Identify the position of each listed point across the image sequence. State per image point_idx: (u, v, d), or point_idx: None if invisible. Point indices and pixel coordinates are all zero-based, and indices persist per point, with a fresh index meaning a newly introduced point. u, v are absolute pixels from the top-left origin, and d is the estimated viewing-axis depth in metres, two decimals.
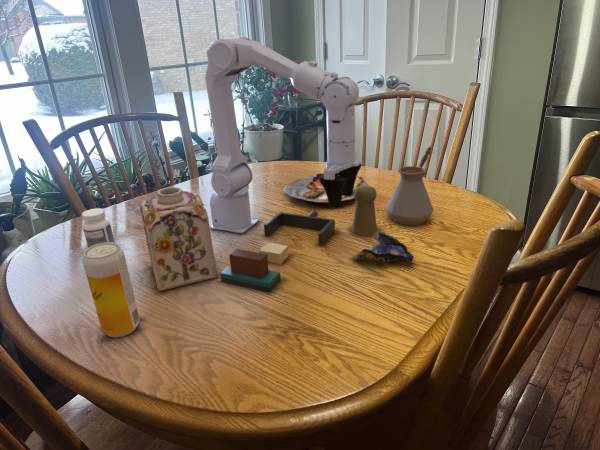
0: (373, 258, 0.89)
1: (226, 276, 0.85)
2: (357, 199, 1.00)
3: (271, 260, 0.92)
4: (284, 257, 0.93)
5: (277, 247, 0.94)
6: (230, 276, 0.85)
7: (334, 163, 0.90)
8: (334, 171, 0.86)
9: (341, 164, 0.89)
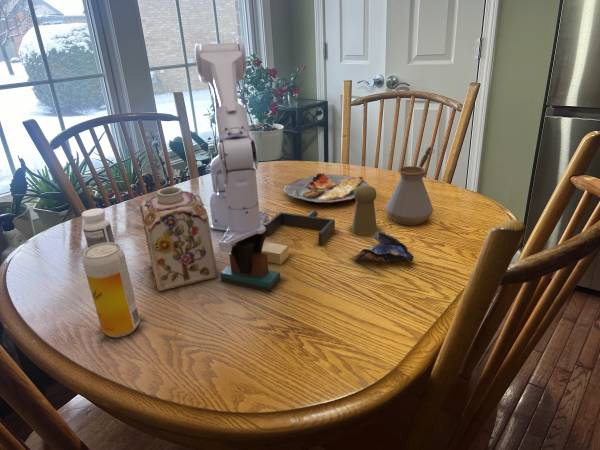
0: (373, 258, 0.89)
1: (226, 276, 0.85)
2: (357, 199, 1.00)
3: (271, 260, 0.92)
4: (284, 257, 0.93)
5: (277, 247, 0.94)
6: (230, 276, 0.85)
7: (235, 230, 0.79)
8: (230, 243, 0.76)
9: (242, 232, 0.79)
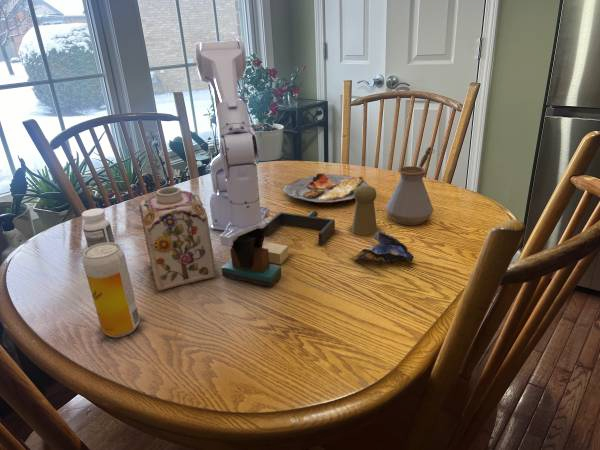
0: (373, 258, 0.89)
1: (227, 270, 0.86)
2: (357, 199, 1.00)
3: (271, 260, 0.92)
4: (284, 257, 0.93)
5: (277, 247, 0.94)
6: (231, 271, 0.86)
7: (236, 225, 0.80)
8: (231, 237, 0.76)
9: (243, 226, 0.79)
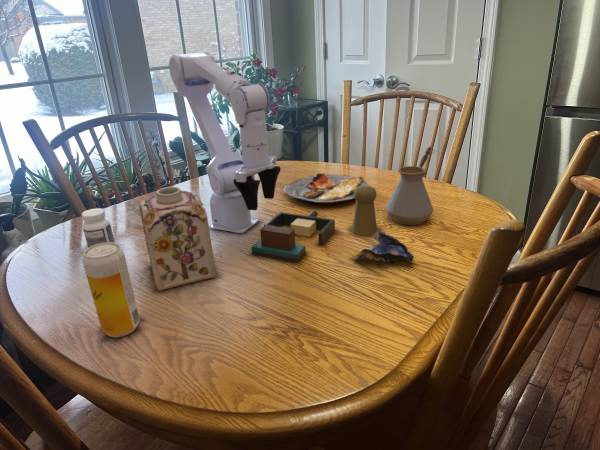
0: (373, 258, 0.89)
1: (257, 249, 0.95)
2: (357, 199, 1.00)
3: (301, 233, 1.04)
4: (312, 230, 1.05)
5: (306, 222, 1.05)
6: (261, 249, 0.95)
7: (248, 166, 0.93)
8: (245, 173, 0.89)
9: (254, 167, 0.92)
